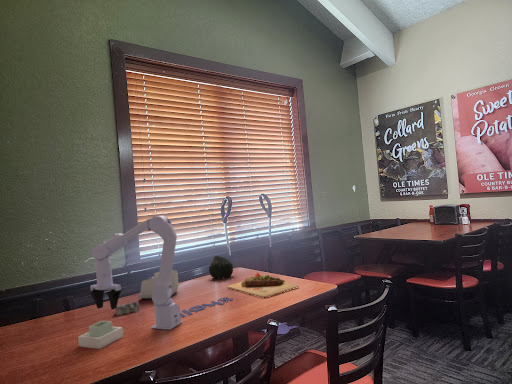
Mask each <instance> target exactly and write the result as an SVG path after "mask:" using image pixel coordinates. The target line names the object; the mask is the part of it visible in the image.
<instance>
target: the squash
mask: <svg viewBox="0 0 512 384" xmlns="http://www.w3.org/2000/svg"><path fill="white" fill-rule="evenodd" d="M208 271H209V275H210V277H211V278H213V279H215V280H223V279H224V278H229V277H231V276H232V274H233V273H234V267H233V263H232V262H231V261H230V260H229V259H228V258H226V257H223V256H220V255H215V256H214V257H213V258H212V260H211V263H210V265H209V268H208Z"/></svg>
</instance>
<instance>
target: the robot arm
mask: <svg viewBox="0 0 512 384" xmlns="http://www.w3.org/2000/svg"><path fill="white" fill-rule="evenodd" d="M150 231H152V232H153V233H155V234H156V235H158V236H159V237H160V238H161V239H162V240H163V242H162V243H163V244H162V250H161V258H160V263H159V271H158V272H159V278H158V282H157V284H156V289H155V291H154V293H153V294H152V298H151V300H152V302H153V307H154V317H155V324H154V325H152V326H151V329H157V330H158V329H159V330H172V329H174V328H176V327H177V326H179V325H181V324H183V321H182V319H181V318H182V317H180V313H181V309H180V308H181V307H180V305H179V304H178V303H175V302H174V300H173V299H172V296H173V294H172V293H173V290H172V287H171V284H172V281H171V275H172V270H173V267H174V260H175V253H176V252H175V251H176V245H177V239H178V237H177V236H178V234H177V232H176V231H175V229H174V227H173V223H172V221H171V220H170V219H169V218H168V217H167V216H166V215H161V214H160V215H155V216H152V217H151V218H148V219H146V220H144V221H141V222H140V223H139V224H137V225H135V226H134V227H132V228H131V229H129V230H128V231H126V232H125V233H120V232H119V233H114V234H112V237H110V238H109V239H107V240H103V241H102V244H97V245H95V246H94V247H93V249H92V250H91V254H92V257H93V259H94V261H95V262H94V263H95V275H96V284H91V285H90V291H91V292H89V295H90V296H91V297H92V299H93V301H94V303H95V305H96V308H97V309H98V310H99V309H102V308H104V294H105V291H107V292H106V295H107V296H108V299H109V305H110V309H111V310H115V309H116V308H117V306H118V302H119V298H120V295H121V293H122V286H121V284H117V283H113V282H114V281H113V271H112V260H111V259H112V258H111V256H112V254H114V253H116V252H118V251H119V250H121V249H122V248H124V247H126V246H127V245H128V242H129V241H131V239H133V238H136V236H139V235H140V234H142V233H144V232H150Z"/></svg>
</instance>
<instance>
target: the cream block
mask: <svg viewBox="0 0 512 384" xmlns="http://www.w3.org/2000/svg"><path fill="white" fill-rule="evenodd" d="M178 274H179V273H178V270H176V269H172V275H171V281H172V284H171V287H172V290H173V293H172V295H174V294H175V293H177V291H178V289H179V276H178ZM158 278H159V271H156V272H154V273H153V276H152V277H151V278H147V279H144V280H141V285H140V292H138V295H137V298H138V299H152V294H153V293H154V291H155V289H156V284H157V282H158Z"/></svg>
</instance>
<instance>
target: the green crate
mask: <svg viewBox="0 0 512 384" xmlns="http://www.w3.org/2000/svg"><path fill="white" fill-rule="evenodd" d="M113 327H114V325H113V321H111V320H100V321H99V322H96V323H94V324H91V325H89V326H88V332H89V336H90V337H98V338H100V337H102V336H104V335H106V334H108V333H110V332H112V331H113Z"/></svg>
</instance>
